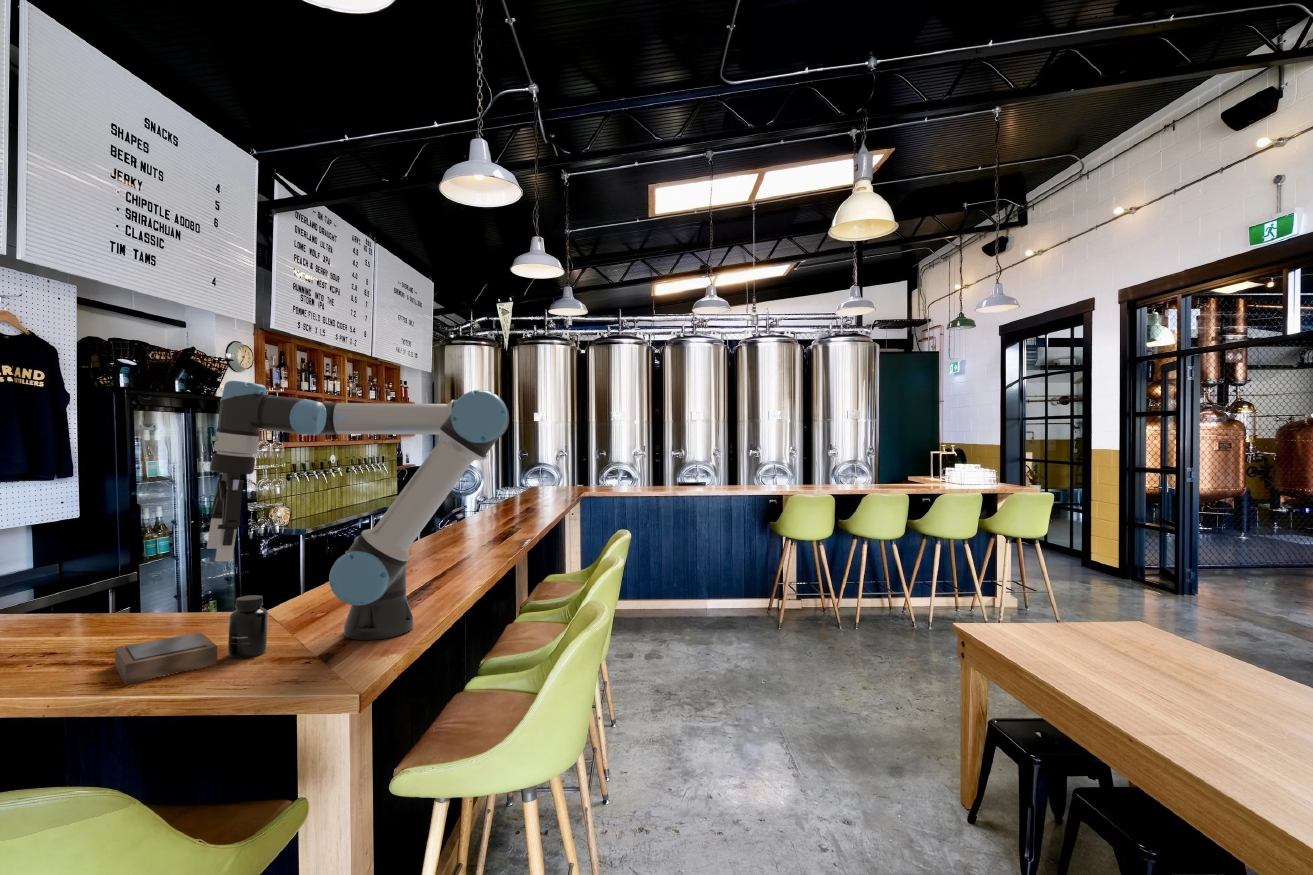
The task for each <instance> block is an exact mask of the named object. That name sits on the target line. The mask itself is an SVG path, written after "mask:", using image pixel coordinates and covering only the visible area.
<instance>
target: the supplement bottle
mask: <svg viewBox="0 0 1313 875" xmlns="http://www.w3.org/2000/svg"><path fill="white" fill-rule="evenodd" d="M263 600H264V597H263V595H261V594H260V595H255V594H252V595H244V596H240V597H237V598H236V599H235V606H234V607H235V610H234V611H233V612H231V614H230V615H229V618H228V619H229V620H228V640H227V641H228V644H227V656H228V657H229V658H230V659H234V660H236V659H237V660H241V659H251V658H254V657H259V656H261V655H263V654H264V653H265V652H266V651H267V642H268V641H267V640H268V621H269V620H268V617H269V616H268V614H269V613H268V611H267V609H265V608H264V607H262V606H263V605H264V603H263V602H264V601H263Z"/></svg>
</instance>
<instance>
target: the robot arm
mask: <svg viewBox="0 0 1313 875" xmlns="http://www.w3.org/2000/svg"><path fill="white" fill-rule="evenodd" d="M219 402H220V405H219V414H218V420H217V428H216V432H215V433H216V435H215V436H214V435H213V436H211V439H210V440H211V441H213V442H214V446H213V451H215V452H216V453H215V452H214V453H213V454H212V455H211V462H210V469H209V470H210V471H211V472H215V473H219V474H218V480H217V482H216V489H215V494H214V497H213V502H212V506H211V509H210V512H211V513H210V515H211V519H210V524H209V525H210V526H209V532H208V539H207V543H206V549H208V550H209V549H210V550H211V549H213V550H214V549H215V550H216V553H215V560H214V562H233V557H234V556H233V555H234V549H235V544H236V538H237V531H238V529H239V528H240V527H241V509H242V499H243V498H242V497H243V486H244V484H245V482H244V480H243V479H242V480H241V475H251V474H253V473H254V470H255V464H256V458H255V456H254V455H256V454H257V452H258V446H259V440H260V431H261V430H266V431H275V432H281V433H288V434H289V433H290V434H297V435H300V436H303V435H305V436H322V435H323V436H324V435H439V437H440V438H439V441H438V442H437V443H436V444H435V446H434V447H433V449H432V450H431V451H430V453H429V454H428V455H427V457H426V458H425V459H424V461H423V462H422V463H421V464H420V466H419V468H418V469H417V470H416V471H415V473H414V474H413V476H412V477H410V479H409V481H408V482H407V483H406V485H404V487H403V489H402V490H401V491H400V493H399V494H398V495H397V497H396V498H395V499H394V501H393V502H392V503H391V505H390V506H389V508H388V509H387V510H386V511H385V513H384V514H383V515H382V517H381V518H380V519H379V521H378V522H377V523H376V525H375V526H374V527H372V528H369V529H364V530H362V531H361V532H360V534H359V535H358V536H356V537H355V538H354V540H353V543H352V545H351V546H350V547H349V549H348V550H347V551H346V553H345V554H342V555H340V557H338V558H337V559H336V560H335V562H334V563H333V565H332V567H331V568H330V571H329V576H328V577H329V578H328V582H329V586H330V589H331V591H332V593H333V594H334V596H335V597H337V599H338V600H340V601H341V602H342V603H345V604H348V605H350V608H349V611H348V614H347V615H346V616H347V617H346V619H345V623H344V626H343V636H344V637H345V638H347V639H351V640H357V641H371V640H374V641H375V640H382V639H389V638H394V637H397V636H398V637H399V636H400V635H404V634H406V632H407V633H409V632H411V631H412V630H413V628H414V616H413V613H412V610H411V607H410V605H409V601H408V599H407V563H408V562H409V561H410V552H409V549H410V547H411V546H412V544H413V543H414V542H415V540H416V539H417V538H418V536H419V535H420V534H421V532H422V531H423V529H424V528H425V527H426V525H427V524H428V522H429V521H430V520H431V519H432V517H433V516H434V515H435V513H436V512H437V510H438V509H439V507H441V505H442V504H443V502H445V500H446V499H447V496H449V494H450V493H451V492H452V490H453V488H454V487H455V486H456V484H457V483H458V482H459V480H460V479H461V478H462V477H463V476H464V474H465V473H466V471H467V469H468V468H469V467H470V465H472V463H473V462H475V461H479V460H483V459H484V458H485V457H486V455H487V454H488V453H489V451H490V450H491V449H492V448H493V446H494V445H495V443H496V442H497V440H498V439H500V438H501V437H502V436H504V435H505V433H506V432H507V429H508V428H509V425H510V415H509V414H510V412H509V410H508V408H507V405H506V404H505V402H504V400H503V399H502V398H501V397H499V395H497V394H495V393H493V392H492V391H490V390H489V391H488V390H484V389H477V390H476V389H475V390H472V391H468V392H466V393H464V394H462V395H461V396H460V397H459V398H458V399H451V401H449V402H448V403H383V402H382V403H378V402H375V403H371V402H369V403H368V402H362V403H361V402H321V401H317V400H312V399H309V398H308V399H306V398H297V397H286V396H278V395H272V394H267V387H266V386H265V385H264V384H260V383H259V384H258V383H255V382H246V381H240V380H239V381H238V380H228V381H226V382H225V383H224V386H223V390H222V396H221V398H220V400H219ZM411 629H412V630H411ZM408 631H409V632H408ZM403 633H404V634H403Z"/></svg>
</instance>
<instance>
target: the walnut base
mask: <svg viewBox="0 0 1313 875" xmlns="http://www.w3.org/2000/svg"><path fill="white" fill-rule="evenodd" d="M213 665H214V666H218V645H217V644H215V643H214V642H213V641H212V640H211V639H210V638H208V636H207V635H205V633H203V632H202V631H201V632H200V631H199V632H195V633H188V634H183V635H177V636H172V637H171V636H170V637H166V638H161V639H155V640H154V639H153V640H149V641H144V642H138V643H133V644H128V645H122V646H115V648H114V668H115V669H116V671H117V673H118V674H119V676H120V679H121V680H122V682H123V683H124V685H125V686H126V685H130V684H135V682H136V683H140V682H144V680H145V681H149V679H150V680H153V679H152V678H154V679H156V678H155V677H159V676H163V675H168V674H172V673H176V672H182V671H186V672H190V671H189V670H191V671H195V670H194V669H196V670H200V669H204V667H205V668H208V667H207V666H209V667H213ZM182 673H183V672H182ZM168 676H169V675H168ZM163 677H164V676H163ZM159 678H160V677H159Z"/></svg>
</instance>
